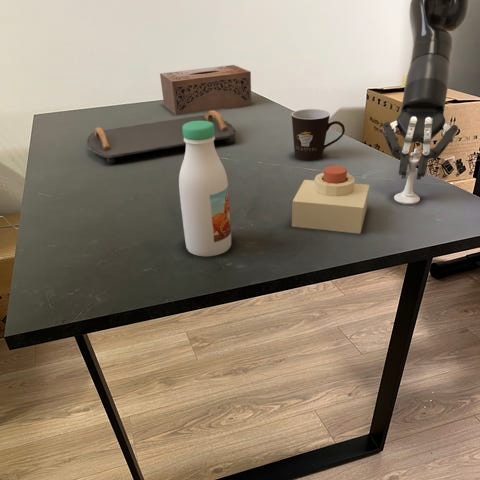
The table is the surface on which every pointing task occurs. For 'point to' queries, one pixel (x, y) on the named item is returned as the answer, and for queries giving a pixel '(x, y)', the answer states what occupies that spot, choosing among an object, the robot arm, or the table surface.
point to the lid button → (335, 174)
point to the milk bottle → (204, 193)
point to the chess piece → (409, 182)
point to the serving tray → (151, 136)
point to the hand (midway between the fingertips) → (411, 176)
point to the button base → (330, 205)
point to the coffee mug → (311, 133)
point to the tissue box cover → (206, 89)
